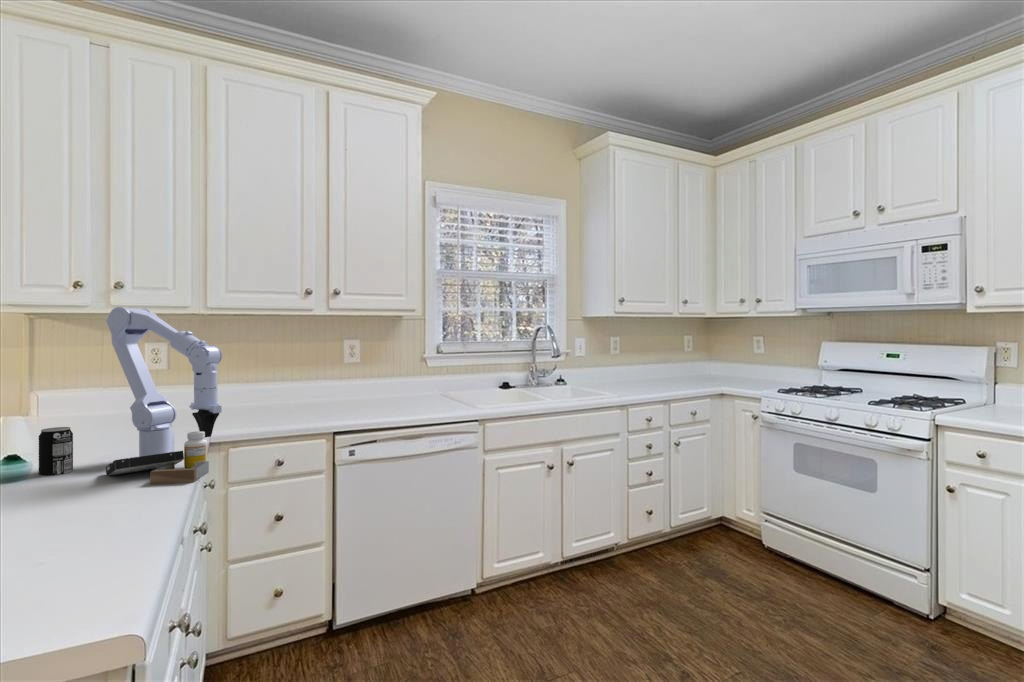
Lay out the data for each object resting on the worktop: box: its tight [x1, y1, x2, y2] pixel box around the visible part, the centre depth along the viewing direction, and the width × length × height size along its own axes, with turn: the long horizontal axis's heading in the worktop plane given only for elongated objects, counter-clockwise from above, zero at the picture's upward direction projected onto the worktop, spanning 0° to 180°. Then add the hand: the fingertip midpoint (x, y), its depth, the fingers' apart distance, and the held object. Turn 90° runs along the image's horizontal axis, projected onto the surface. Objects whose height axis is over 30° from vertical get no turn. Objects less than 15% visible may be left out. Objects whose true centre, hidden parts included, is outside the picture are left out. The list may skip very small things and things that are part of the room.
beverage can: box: [38, 426, 74, 477], centre depth 134 cm, size 7×7×12 cm
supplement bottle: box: [183, 430, 209, 469], centre depth 141 cm, size 5×5×10 cm
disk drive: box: [105, 450, 184, 476], centre depth 136 cm, size 10×3×15 cm
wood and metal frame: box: [149, 460, 210, 485], centre depth 132 cm, size 10×10×3 cm
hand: (206, 437), depth 148 cm, fingers closed
